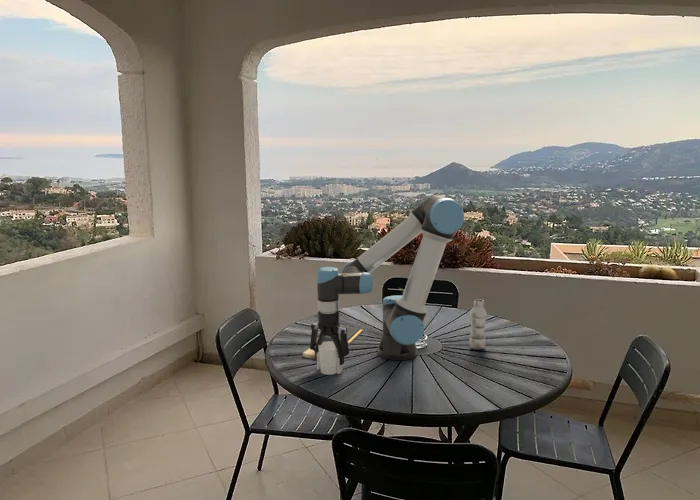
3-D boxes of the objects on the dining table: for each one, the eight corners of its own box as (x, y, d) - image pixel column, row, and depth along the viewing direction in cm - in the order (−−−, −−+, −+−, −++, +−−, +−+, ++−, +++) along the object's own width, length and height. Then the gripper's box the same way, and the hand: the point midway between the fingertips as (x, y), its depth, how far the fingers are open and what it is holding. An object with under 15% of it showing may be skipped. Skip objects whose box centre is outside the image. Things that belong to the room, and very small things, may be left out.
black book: (335, 323, 242) (366, 327, 236) (335, 327, 242) (366, 331, 237) (315, 338, 224) (348, 343, 218) (315, 342, 224) (348, 347, 218)
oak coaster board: (344, 350, 213) (344, 347, 213) (329, 361, 203) (329, 358, 202) (318, 345, 219) (318, 342, 218) (302, 356, 208) (302, 352, 208)
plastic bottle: (488, 348, 214) (490, 300, 210) (480, 353, 209) (481, 304, 205) (474, 344, 219) (476, 297, 214) (465, 348, 214) (467, 300, 210)
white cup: (337, 376, 190) (337, 350, 188) (316, 374, 192) (315, 348, 190) (342, 367, 198) (342, 341, 196) (322, 365, 199) (321, 340, 197)
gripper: (358, 311, 189) (359, 371, 193) (309, 304, 198) (310, 361, 203) (349, 317, 182) (350, 379, 187) (298, 309, 191) (300, 369, 196)
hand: (329, 370), depth 195 cm, fingers closed on white cup, 8 cm apart
